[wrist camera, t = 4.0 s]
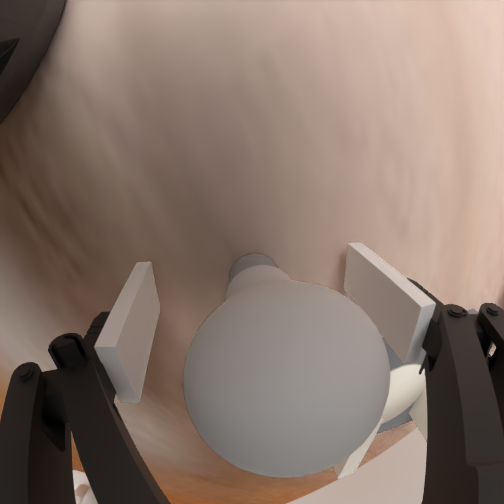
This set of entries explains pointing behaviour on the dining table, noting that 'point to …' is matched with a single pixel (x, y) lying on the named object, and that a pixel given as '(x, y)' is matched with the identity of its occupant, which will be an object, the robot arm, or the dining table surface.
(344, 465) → the socket board
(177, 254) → the dining table surface
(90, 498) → the mug
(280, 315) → the lightbulb
